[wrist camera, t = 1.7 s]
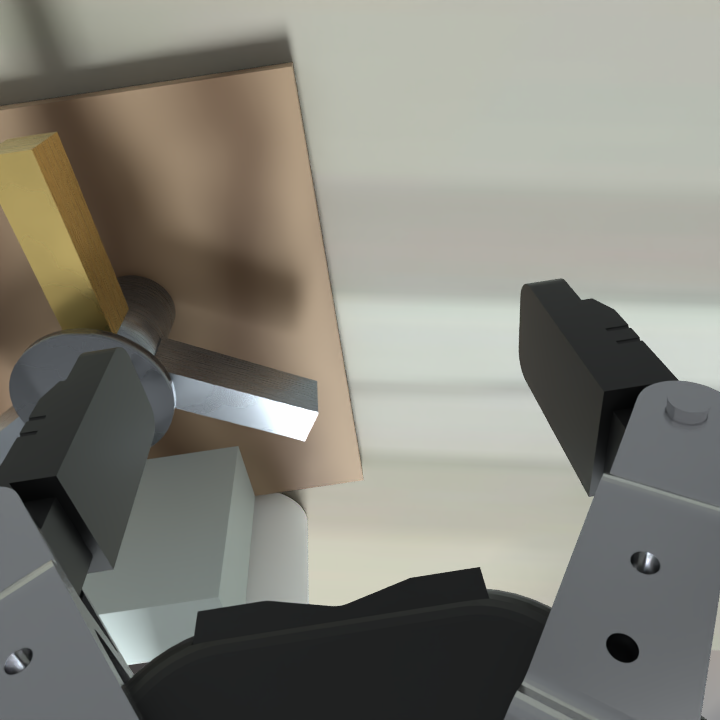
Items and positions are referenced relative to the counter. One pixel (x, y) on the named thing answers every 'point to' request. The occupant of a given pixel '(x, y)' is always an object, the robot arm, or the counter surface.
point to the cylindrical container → (278, 551)
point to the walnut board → (204, 248)
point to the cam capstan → (120, 314)
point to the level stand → (177, 552)
